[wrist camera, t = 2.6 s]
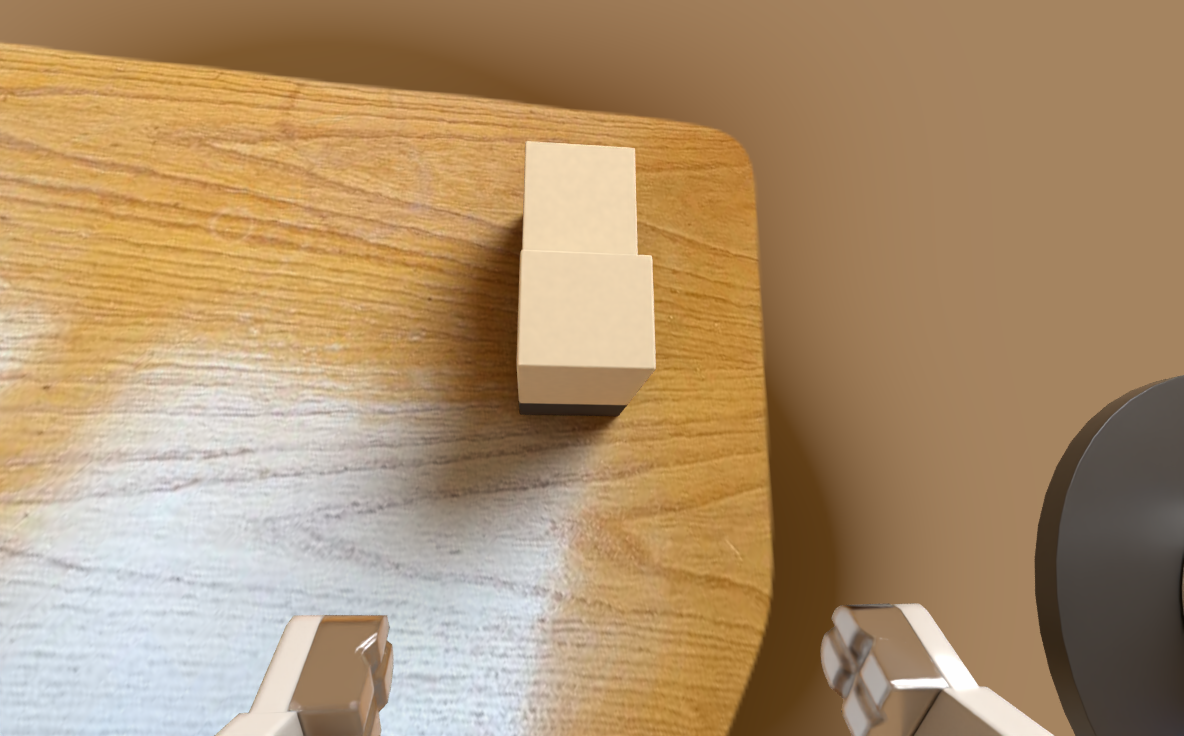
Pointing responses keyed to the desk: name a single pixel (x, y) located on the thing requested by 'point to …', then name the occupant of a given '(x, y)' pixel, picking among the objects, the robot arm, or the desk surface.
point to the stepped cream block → (582, 283)
